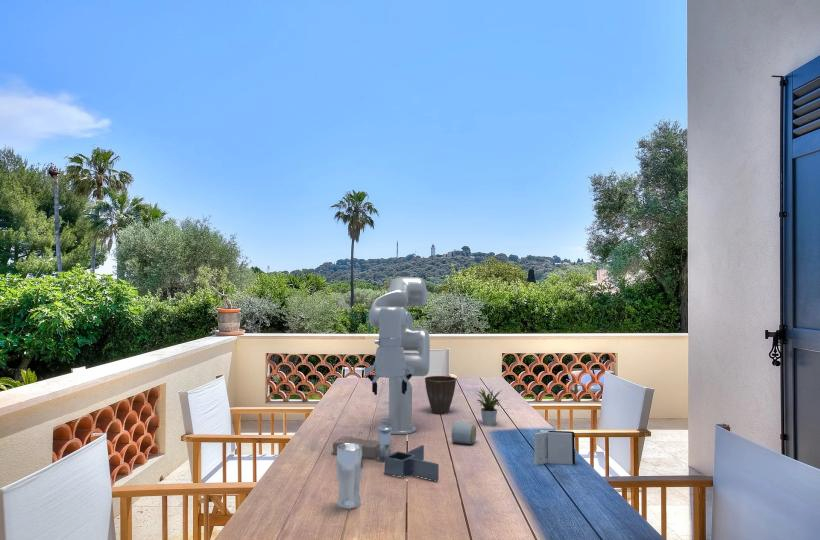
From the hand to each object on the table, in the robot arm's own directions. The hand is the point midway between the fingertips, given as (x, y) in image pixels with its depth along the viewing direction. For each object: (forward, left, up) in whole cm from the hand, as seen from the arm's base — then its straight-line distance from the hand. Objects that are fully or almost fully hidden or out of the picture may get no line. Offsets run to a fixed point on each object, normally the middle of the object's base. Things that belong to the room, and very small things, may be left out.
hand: (389, 393), depth 167 cm
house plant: (+8, +61, -22) cm, 65 cm away
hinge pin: (-1, -1, -22) cm, 22 cm away
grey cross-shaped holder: (+15, -3, -22) cm, 27 cm away
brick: (-13, 0, -22) cm, 26 cm away
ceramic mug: (+12, +32, -22) cm, 41 cm away
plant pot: (-19, +69, -22) cm, 74 cm away
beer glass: (+12, -35, -22) cm, 43 cm away
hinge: (+48, +27, -22) cm, 59 cm away
